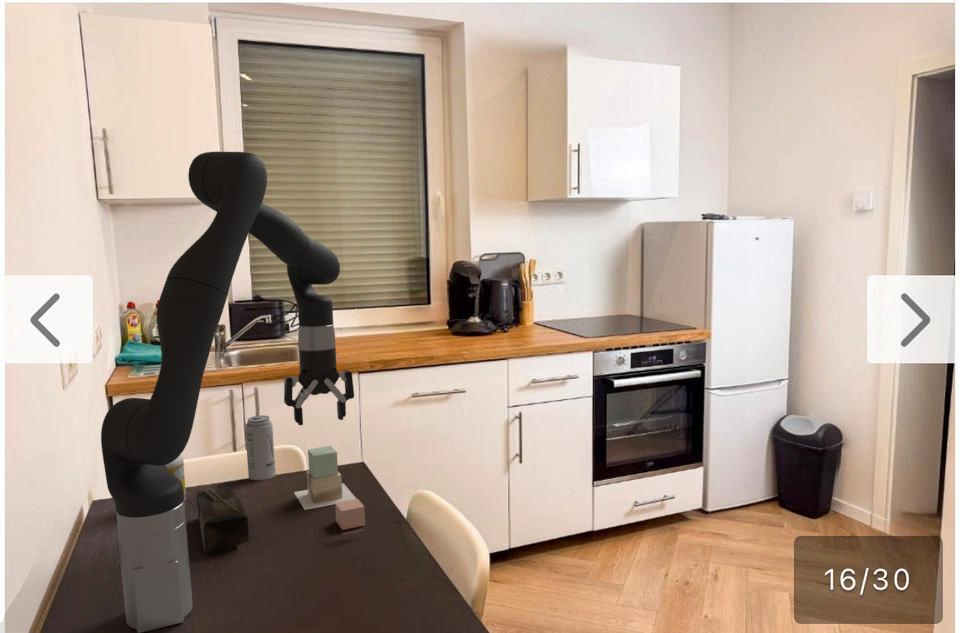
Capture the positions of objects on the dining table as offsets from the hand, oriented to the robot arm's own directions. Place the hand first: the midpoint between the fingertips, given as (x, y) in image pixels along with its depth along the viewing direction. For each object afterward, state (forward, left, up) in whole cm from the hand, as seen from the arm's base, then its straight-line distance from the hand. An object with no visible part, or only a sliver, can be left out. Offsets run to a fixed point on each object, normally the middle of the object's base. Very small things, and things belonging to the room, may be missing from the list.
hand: (320, 421), depth 145 cm
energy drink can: (+20, +10, -18) cm, 29 cm away
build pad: (0, 0, -18) cm, 18 cm away
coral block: (-16, -1, -18) cm, 24 cm away
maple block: (0, 0, -16) cm, 16 cm away
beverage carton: (-5, +21, -18) cm, 28 cm away
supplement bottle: (+16, +30, -18) cm, 38 cm away
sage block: (0, 0, -11) cm, 11 cm away
